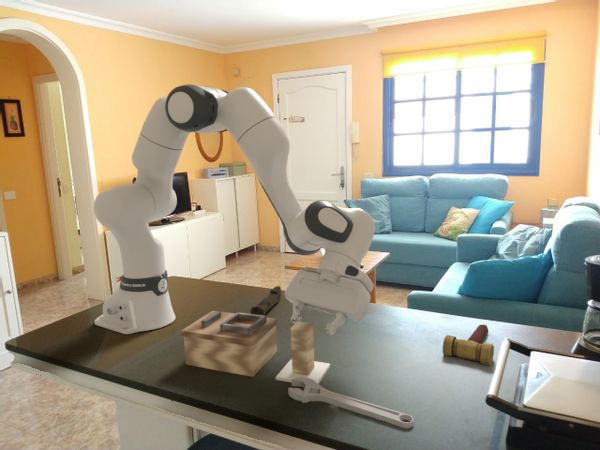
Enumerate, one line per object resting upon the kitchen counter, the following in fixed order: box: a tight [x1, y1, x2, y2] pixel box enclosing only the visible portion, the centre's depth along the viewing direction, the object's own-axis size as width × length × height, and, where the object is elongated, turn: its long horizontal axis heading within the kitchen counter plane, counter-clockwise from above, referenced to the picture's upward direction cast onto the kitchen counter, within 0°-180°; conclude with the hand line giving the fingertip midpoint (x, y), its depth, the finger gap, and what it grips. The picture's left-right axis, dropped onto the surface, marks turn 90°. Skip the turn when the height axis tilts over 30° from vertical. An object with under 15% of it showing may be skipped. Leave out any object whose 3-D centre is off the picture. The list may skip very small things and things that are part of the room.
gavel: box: [442, 324, 495, 366], centre depth 105 cm, size 21×5×10 cm
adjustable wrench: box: [287, 377, 414, 429], centre depth 82 cm, size 25×6×2 cm, turn 53°
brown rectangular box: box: [180, 310, 278, 377], centre depth 101 cm, size 18×13×10 cm
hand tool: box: [250, 285, 282, 316], centre depth 133 cm, size 19×4×5 cm, turn 159°
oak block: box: [290, 321, 315, 376], centre depth 94 cm, size 4×4×10 cm
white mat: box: [275, 358, 331, 385], centre depth 94 cm, size 9×9×1 cm
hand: (311, 327), depth 95 cm, fingers open, 8 cm apart
